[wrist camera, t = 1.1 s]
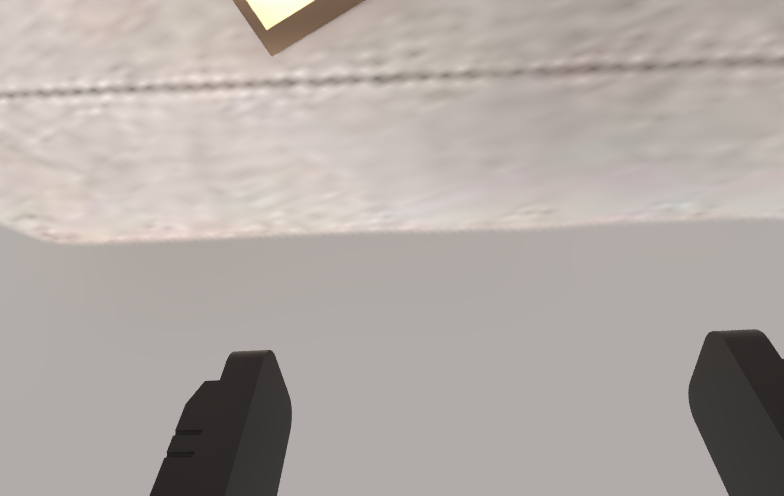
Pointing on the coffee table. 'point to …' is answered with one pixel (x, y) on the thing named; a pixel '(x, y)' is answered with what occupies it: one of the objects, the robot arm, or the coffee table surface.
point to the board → (295, 22)
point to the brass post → (275, 10)
